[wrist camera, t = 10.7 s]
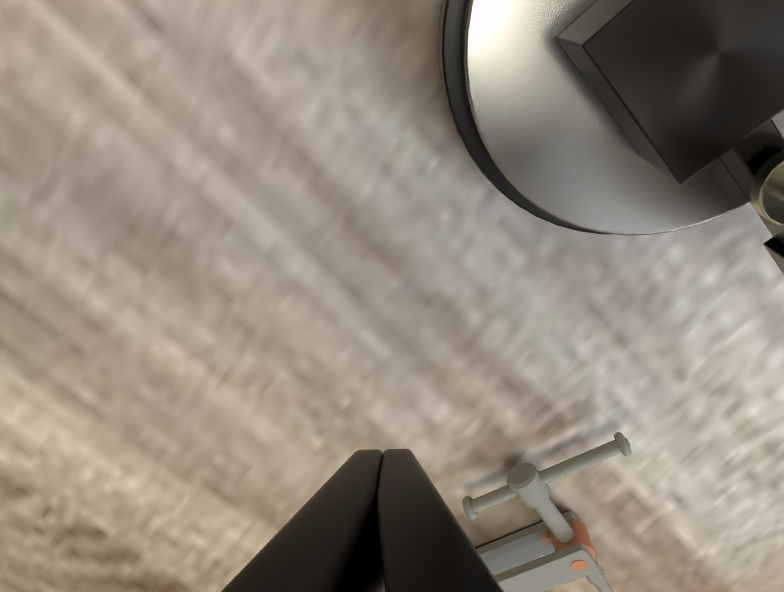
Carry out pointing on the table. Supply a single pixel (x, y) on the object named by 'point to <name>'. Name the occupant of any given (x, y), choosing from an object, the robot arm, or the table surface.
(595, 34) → the swivel clamp
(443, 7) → the swivel base
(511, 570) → the clamp
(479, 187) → the table surface
